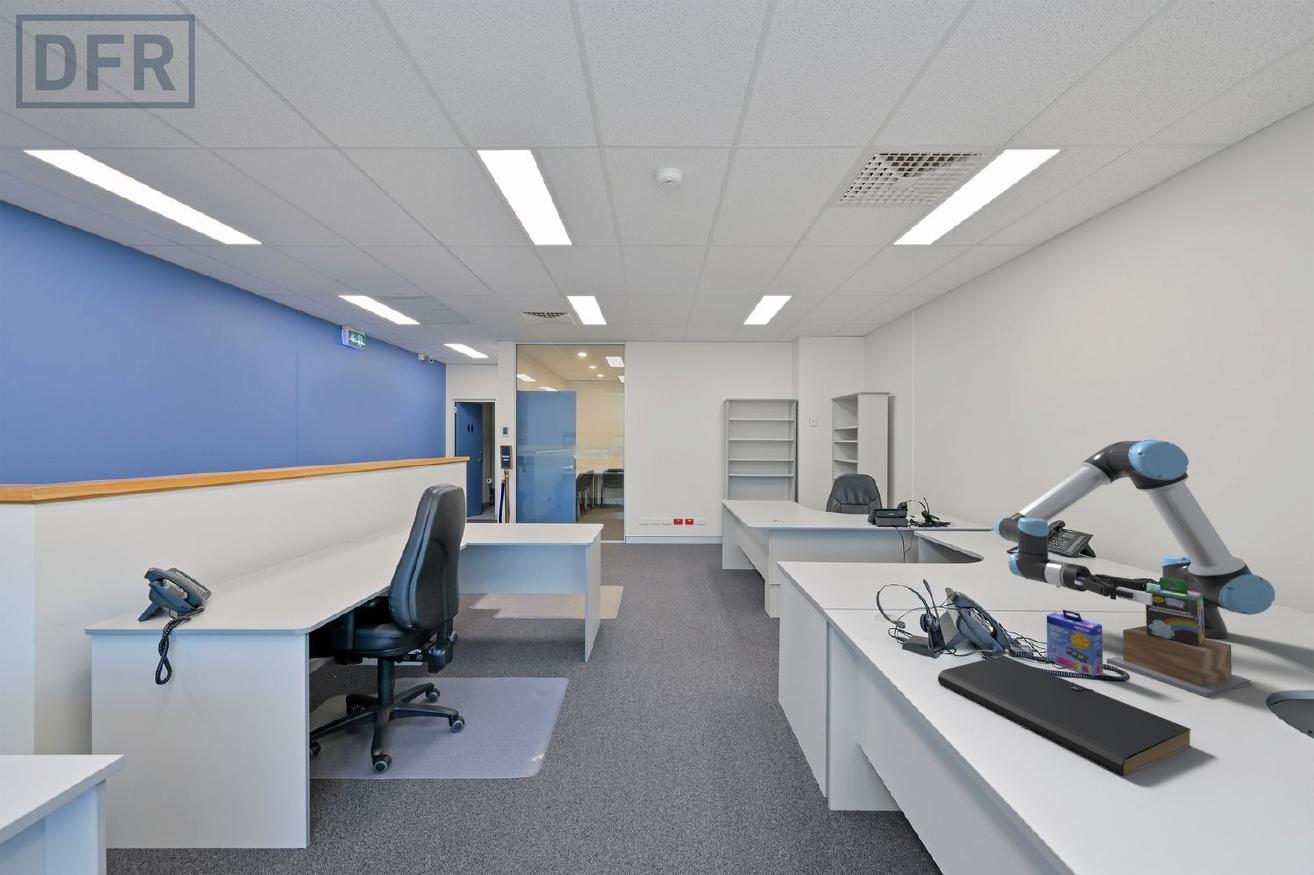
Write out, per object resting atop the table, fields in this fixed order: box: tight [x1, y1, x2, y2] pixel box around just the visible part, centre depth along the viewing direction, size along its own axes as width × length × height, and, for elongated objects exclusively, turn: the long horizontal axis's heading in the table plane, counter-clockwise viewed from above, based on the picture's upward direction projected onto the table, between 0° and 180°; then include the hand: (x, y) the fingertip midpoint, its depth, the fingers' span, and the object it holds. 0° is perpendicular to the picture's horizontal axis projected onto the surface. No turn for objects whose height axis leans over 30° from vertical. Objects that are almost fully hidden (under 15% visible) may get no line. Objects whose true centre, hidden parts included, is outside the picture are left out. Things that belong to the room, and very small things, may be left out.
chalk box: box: [1144, 576, 1206, 646], centre depth 117 cm, size 9×9×15 cm
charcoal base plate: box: [1106, 655, 1252, 698], centre depth 117 cm, size 20×18×1 cm
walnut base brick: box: [1122, 625, 1233, 687], centre depth 117 cm, size 14×14×8 cm
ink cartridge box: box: [1046, 609, 1104, 676], centre depth 119 cm, size 10×6×14 cm, turn 27°
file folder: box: [937, 655, 1192, 777], centre depth 98 cm, size 33×4×24 cm
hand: (1166, 597), depth 118 cm, fingers open, 13 cm apart
